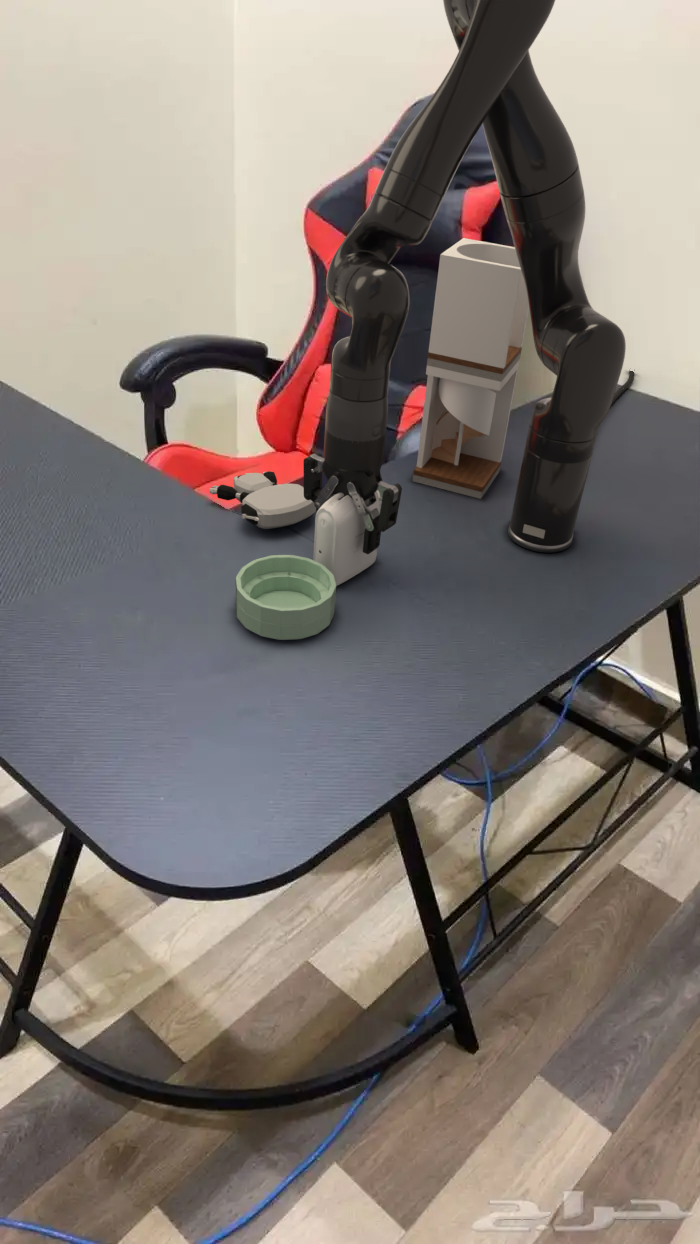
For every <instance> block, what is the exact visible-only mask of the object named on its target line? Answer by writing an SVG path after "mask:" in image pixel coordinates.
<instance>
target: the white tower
mask: <svg viewBox="0 0 700 1244" xmlns="http://www.w3.org/2000/svg"><path fill="white" fill-rule="evenodd" d="M432 312H433V313H432V319H431V328H430V335H429V336H430V337H429V344H428V352H427V360H426V361H427V362H426V369H425V370H426V371H425V375H426V376H427V379H426V387H425V393H424V394H425V395H424V402H423V403H424V404H423V409H422V420H421V426H420V435H419V442H418V443H419V444H418V451H417V459H416V467H415V468H414V469H413V474H412V482H414V483H417V484H421V485H425V486H429V487H433V488H437V489H441V490H445V491H448V492H453V493H456V494H461V495H463V496H467V497H472V498H474V499H475V498H476V499H480V500H482V498H483V497H484V496H485V494H486V492H487V491H488V490H489V488H490V487H491V485H492V483H493V482H494V480H495V479H496V478H497V476H498V475H499V473H500V471H501V465H502V459H503V455H504V454H503V453H504V448H505V442H506V439H507V432H508V427H509V421H510V416H511V412H512V411H511V410H512V406H513V405H512V404H513V398H514V393H515V389H516V382H517V377H518V372H519V366H520V361H521V355H522V350H523V345H524V339H525V333H526V329H527V322H528V317H529V313H530V309H529V302H528V296H527V290H526V285H525V281H524V278H523V274H522V271H521V268H520V265H519V261H518V258H517V254H516V250H515V247H514V246H510V245H505V244H504V245H503V244H501V243H500V244H499V243H493V242H489V241H482V240H477V239H473V238H472V239H471V238H466V237H463V238H461V239H460V240H459V241H457V242H456V243H455V244H453V245H452V246H450V247H449V248H447V249H445V250H444V251H443V252H441V253H440V255H439V262H438V272H437V280H436V289H435V296H434V304H433V311H432Z"/></svg>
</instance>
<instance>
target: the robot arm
mask: <svg viewBox="0 0 700 1244" xmlns="http://www.w3.org/2000/svg"><path fill="white" fill-rule="evenodd" d="M442 2H443V8H444V13H445V17H446V19H447V23H448V26H449V28H450V32H451V34H452V37H453V40H454V42H455V44H456V47H457V50H458V52H457V55H456V57H455V59H454V61H453V63H452V65H451V67H450V68H449V70H448V71H447V74H446V75H445V77H444V78H443V80H442V81H441V83H440V85H439V86H438V87H437V88H436V90H435V92H434V93H433V94H432V96H431V97H430V99H428V101H427V103H425V105H424V106H423V107H422V108H421V110H420V111H419V112H418V114H417V115H416V116H415V118H414V119H413V120H412V121H411V122H410V124H409V125H408V126H407V128H406V130H405V131H404V133H403V134H402V135H401V137H400V139H399V140H398V142H397V144H396V146H395V147H394V149H393V150H392V153H391V154H390V157H389V159H388V162H387V163H386V166H385V168H384V170H383V172H382V174H381V176H380V179H379V181H378V184H377V186H376V188H375V191H374V194H373V196H372V197H371V201H370V203H369V205H368V207H367V209H366V210H365V211H364V212H363V214H362V215H361V216H360V217H359V219H358V220H357V221H356V223H355V224H354V225H353V227H352V228H351V229H350V231H349V232H348V234H347V235H346V237H345V238H344V240H342V242H341V244H340V245H339V247H338V248H337V250H336V251H335V253H334V254H333V257H332V259H331V261H330V264H329V266H328V270H327V274H326V278H325V279H326V280H325V286H326V287H325V289H326V294H327V297H328V299H329V302H330V303H331V305H332V306H333V307H335V308H336V309H337V310H338V311H340V312H341V313H343V314H345V315H346V316H348V317H349V318H351V320H352V325H351V326H352V327H351V332H350V335H349V336H346V337H343V338H341V339H340V340H338V341H337V342H336V344H335V345H334V346H333V350H332V354H331V360H330V361H331V362H330V376H329V378H330V379H329V390H328V396H327V401H326V409H325V424H324V438H323V439H324V440H323V454H322V453H321V452H318V451H316V452H315V453H312V454H310V455H308V456H307V457H304V459H303V487H304V498H305V499H306V500H311V501H313V502H314V505H315V514H316V513H317V511H318V510H319V509H320V507H321V506H322V505H323V504H324V503H325V502H326V501H327V500H329V499H330V498H331V497H333V496H334V495H336V494H337V493H343V494H344V497H345V496H346V495H349V496H350V497H351V498H352V500H353V501H354V504H355V506H356V509H357V512H358V514H359V515H361V516H362V518H363V520H364V523H365V526H366V529H365V531H364V542H363V553H366V554H370V553H371V552H373V551H374V550H375V549H377V550H378V548H379V547H380V545H381V537H382V533H384V532H386V531H387V530H390V528H392V527H393V526H395V525H396V524H397V520H398V515H399V514H398V513H399V507H400V503H401V498H402V492H403V488H402V485H401V484H400V483H394V484H393V485H392V484H390V483H387V482H385V481H384V480H383V478H382V477H383V476H382V474H381V473H382V472H381V468H382V466H383V462H384V456H385V445H386V437H387V427H388V418H389V417H388V416H389V386H390V377H391V363H392V359H393V357H394V354H395V352H396V350H397V347H398V344H399V341H400V339H401V336H402V333H403V330H404V327H405V325H406V321H407V318H408V315H409V311H410V303H411V301H410V300H411V299H410V288H409V285H408V281H407V279H406V276H405V275H404V273H402V272H401V270H400V269H398V268H397V267H395V266H393V264H390V263H391V261H392V260H393V259H394V258H395V256H396V255H397V253H398V252H399V250H401V248H402V247H405V246H406V247H407V246H408V247H411V246H413V247H414V246H418V245H419V244H421V243H422V242H423V241H424V240H425V238H426V236H427V235H428V232H429V231H430V229H431V227H432V225H433V222H434V220H435V218H436V216H437V213H438V211H439V210H440V207H441V204H442V203H443V201H444V198H445V196H446V194H447V192H448V190H449V187H450V186H451V183H452V181H453V179H454V176H455V175H456V172H457V170H458V168H459V166H460V164H461V162H462V160H463V159H464V157H465V155H466V153H467V151H468V149H469V147H471V144H472V142H473V141H474V139H475V137H476V135H477V133H478V132H479V130H480V128H481V127H482V128H483V132H484V136H485V141H486V144H487V147H488V152H489V155H490V159H491V162H492V166H493V169H494V174H495V179H496V184H497V188H498V191H499V196H500V200H501V205H502V207H503V212H504V215H505V219H506V222H507V226H508V229H509V232H510V235H511V238H512V243H513V247H515V250H516V254H517V258H518V261H519V265H520V268H521V271H522V274H523V278H524V281H525V285H526V290H527V296H528V302H529V314H530V322H531V331H532V338H533V343H534V348H535V351H536V355H537V357H538V358H539V360H540V361H541V363H542V364H543V365H544V366H545V368H547V369H548V370H549V371H550V372H551V373H552V374H554V375H555V376H556V379H555V383H554V386H553V387H554V388H553V391H552V394H551V397H545V398H543V399H540V400H538V401H537V402H536V403H535V404H534V405H533V407H532V409H531V410H532V411H531V414H530V420H529V425H528V430H527V435H526V440H525V444H524V449H523V450H524V451H523V456H522V461H521V465H520V471H519V476H518V481H517V487H516V491H515V497H514V502H513V506H512V511H511V517H510V521H509V524H508V528H507V534H508V537H509V538H510V539H511V541H512V542H514V543H515V544H517V545H518V546H520V547H522V548H524V549H527V550H530V551H533V552H538V553H559V552H562V551H565V550H566V549H568V548H570V546H571V545H572V543H573V538H574V531H575V527H576V523H577V519H578V515H579V511H580V507H581V503H582V498H583V495H584V492H585V491H584V490H585V486H586V482H587V477H588V474H589V469H590V466H591V461H592V457H593V452H594V448H595V444H596V440H597V436H598V433H599V429H600V426H601V425H602V423H603V422H604V420H605V419H606V417H608V414H609V412H610V409H611V407H612V405H613V404H614V402H616V400H617V399H618V398H619V397H620V396H621V395H622V394H623V393H624V392H625V391H626V390H627V389H628V388H629V387H630V386H631V385H632V383H633V381H634V378H635V373H634V372H633V371H630V369H629V370H628V374H629V375H628V378H627V380H626V382H625V383H623V384H622V385H621V386H620V387H621V388H620V387H619V388H618V389H617V387H618V384H619V380H620V377H621V374H622V370H623V367H624V364H625V363H624V362H625V358H626V347H627V346H626V337H625V334H624V332H623V330H622V329H621V327H619V326H618V324H617V323H615V322H614V321H612V320H611V319H609V318H607V317H606V316H604V315H603V314H601V313H600V312H598V311H597V310H595V309H594V308H593V307H592V305H591V303H590V302H589V299H588V296H587V293H586V290H585V286H584V283H583V279H582V274H581V271H580V264H579V249H580V245H581V239H582V235H583V231H584V226H585V219H586V197H585V189H584V185H583V180H582V174H581V171H580V165H579V161H578V156H577V152H576V149H575V146H574V143H573V140H572V138H571V136H570V134H569V132H568V130H567V127H566V126H565V124H564V122H563V121H562V119H561V117H560V115H559V113H558V111H557V110H556V109H555V107H554V104H553V103H552V102H551V100H550V99H549V96H548V95H547V93H546V91H545V89H544V88H543V86H542V84H541V83H540V80H539V78H538V76H537V73H536V71H535V68H534V65H533V62H532V58H531V55H530V51H529V50H530V48H531V47H532V46H533V44H534V43H535V40H536V39H537V38H538V36H539V34H540V33H541V31H542V29H543V28H544V26H545V24H546V23H547V21H548V19H549V17H550V15H551V13H552V10H553V8H554V6H555V3H556V0H442ZM623 388H624V389H623ZM323 474H324V476H325V478H326V481H327V482H326V484H325V485H324V487H323ZM377 490H378V491H379V493H380V498H379V497H378V494H377V492H376V491H377ZM367 499H369V503H368V504H367V505H365V503H364V501H366V500H367ZM380 501H382V503H380ZM380 504H381V509H380ZM371 513H372V515H371ZM372 516H373V518H374V519H373V518H372Z"/></svg>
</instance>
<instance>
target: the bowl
mask: <svg viewBox="0 0 700 1244" xmlns="http://www.w3.org/2000/svg"><path fill="white" fill-rule="evenodd" d="M336 596H337V586H336V582H335V579H334V575H333V574H332V573H331V572H330V571H329V570H328V569H327V568H326V567H325V566H324V565H322V564H320V563H318V562H316V561H314V560H313V559H311V558H310V557H304V556H300V555H294V554H271V555H267V556H264V557H259V558H256V559H253V560H251V561H250V562H248V563H247V564H245V565H244V566H241V568H240V570H239V572H238V573H237V575H236V577H235V613H236V619H237V620H239V622H240V623H241V624H242V626H243V627H244V628H245V629H246V630H249V631H250V632H253V633H254V634H256V635H259V636H260V637H264V638H269V639H272V640H273V639H274V640H278V641H280V640H281V641H285V640H302V639H305V638H309V637H312V636H315V635H318V634H320V632H322V631H323V630H325V629H326V628H327V627H329V626H330V624H331V623H332V620H333V618H334V616H335V610H336V609H335V608H336Z"/></svg>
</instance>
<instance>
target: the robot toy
mask: <svg viewBox="0 0 700 1244" xmlns="http://www.w3.org/2000/svg"><path fill="white" fill-rule="evenodd" d="M208 492H209V493H210V494H211V495H216V497H217V499H219V500H225V501H232V500H235V499H236V500H237V501H238V502H239V503H240V504H242V505H241V507H240V508H241V509H240V511H241V518H242V519H244V520H246V521H247V522H249V523H250V524H252V525H254V526H256V527H257V528H260V529H263V530H269V529H270V530H271V529H276V528H277V529H278V528H282V527H288V526H292V525H295V524H297V523H299V522H302V521H305V520H306V519H307V518H309V517H311V516H312V515H313V514H314V513H315V512H316V507H315V505H314V502H313V501H311V500H306V499H305V498H304V486H302V485H300V484H299V483H280V484H278V479H277V476H276V473H275V472H274V471H272V470H270V471H263V472H262V473H261V472H244V474H240V475H235V476H234V477H233V486H231V485H226V484H220V485H213V486H211V487H210V488H209V489H208Z"/></svg>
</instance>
